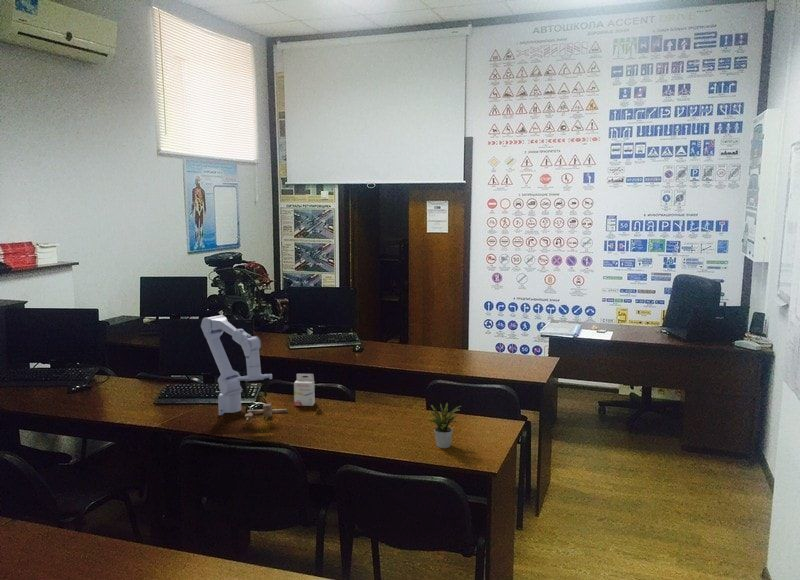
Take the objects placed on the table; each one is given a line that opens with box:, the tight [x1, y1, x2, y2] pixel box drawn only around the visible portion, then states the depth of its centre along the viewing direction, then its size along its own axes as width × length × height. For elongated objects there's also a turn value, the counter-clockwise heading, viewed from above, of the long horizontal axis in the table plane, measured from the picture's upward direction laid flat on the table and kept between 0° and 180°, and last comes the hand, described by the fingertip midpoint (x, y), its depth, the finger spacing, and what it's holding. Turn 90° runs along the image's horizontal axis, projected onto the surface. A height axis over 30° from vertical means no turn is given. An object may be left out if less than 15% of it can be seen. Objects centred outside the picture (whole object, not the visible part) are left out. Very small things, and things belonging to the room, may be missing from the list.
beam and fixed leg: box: [244, 408, 288, 421], centre depth 267 cm, size 17×10×2 cm, turn 92°
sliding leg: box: [262, 403, 273, 420], centre depth 266 cm, size 3×10×5 cm, turn 2°
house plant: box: [426, 402, 461, 449], centre depth 229 cm, size 14×14×16 cm
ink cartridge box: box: [293, 373, 316, 407], centre depth 282 cm, size 9×5×15 cm, turn 84°
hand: (256, 397), depth 265 cm, fingers open, 7 cm apart
